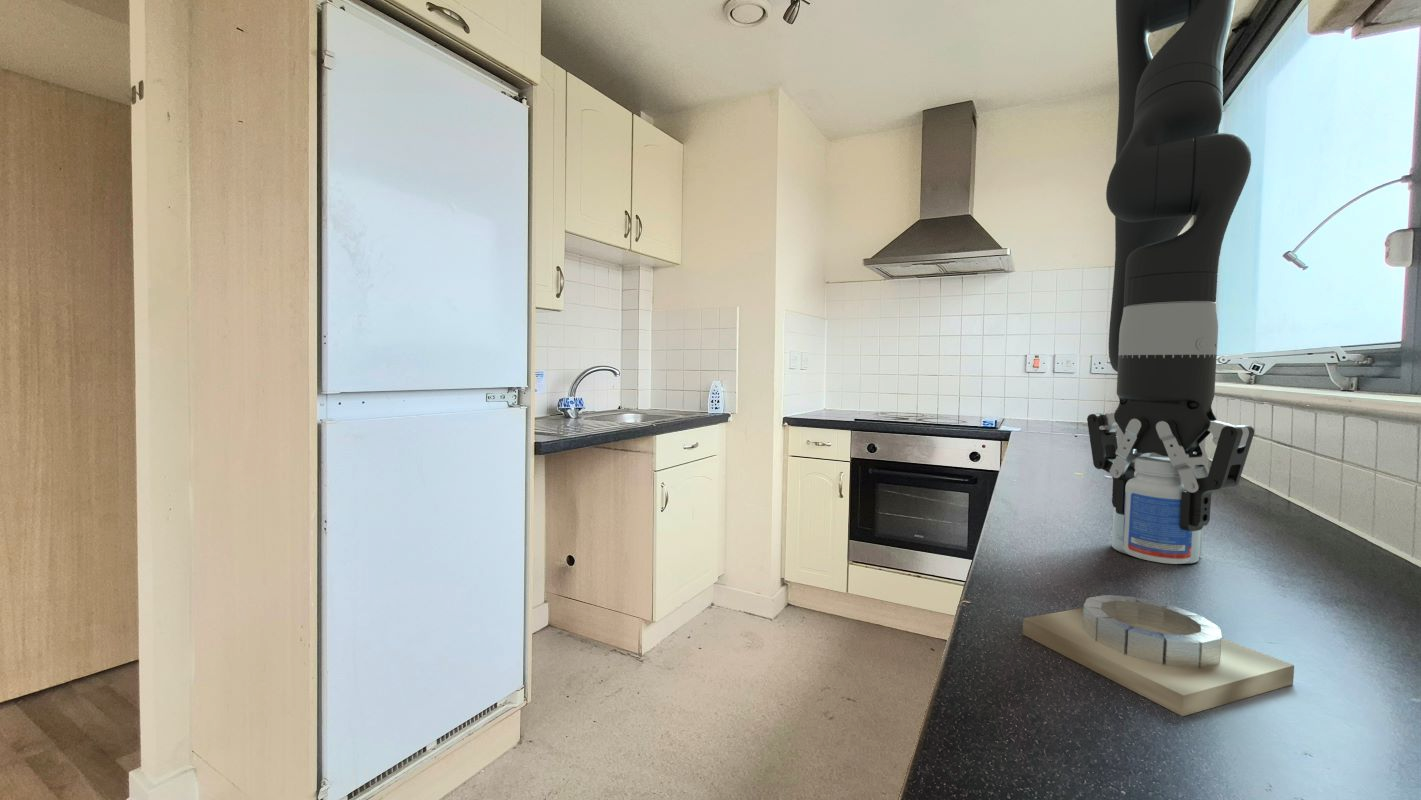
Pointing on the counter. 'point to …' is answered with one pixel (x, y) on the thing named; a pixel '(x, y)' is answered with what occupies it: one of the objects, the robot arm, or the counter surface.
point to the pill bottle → (1155, 513)
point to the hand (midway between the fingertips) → (1156, 520)
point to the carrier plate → (1163, 666)
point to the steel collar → (1185, 647)
